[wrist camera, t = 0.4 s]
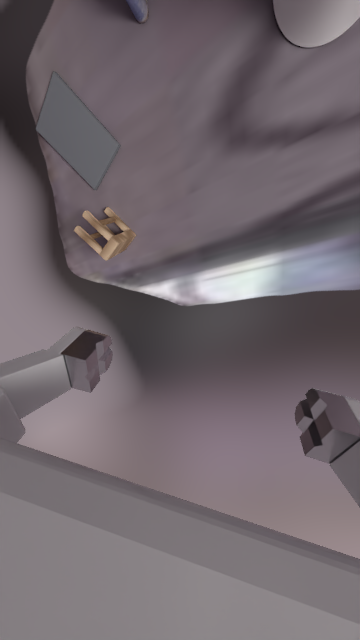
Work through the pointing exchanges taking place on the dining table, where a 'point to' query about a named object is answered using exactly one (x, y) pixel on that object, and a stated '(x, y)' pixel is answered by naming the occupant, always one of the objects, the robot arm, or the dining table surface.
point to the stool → (106, 234)
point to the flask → (139, 9)
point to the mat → (76, 132)
